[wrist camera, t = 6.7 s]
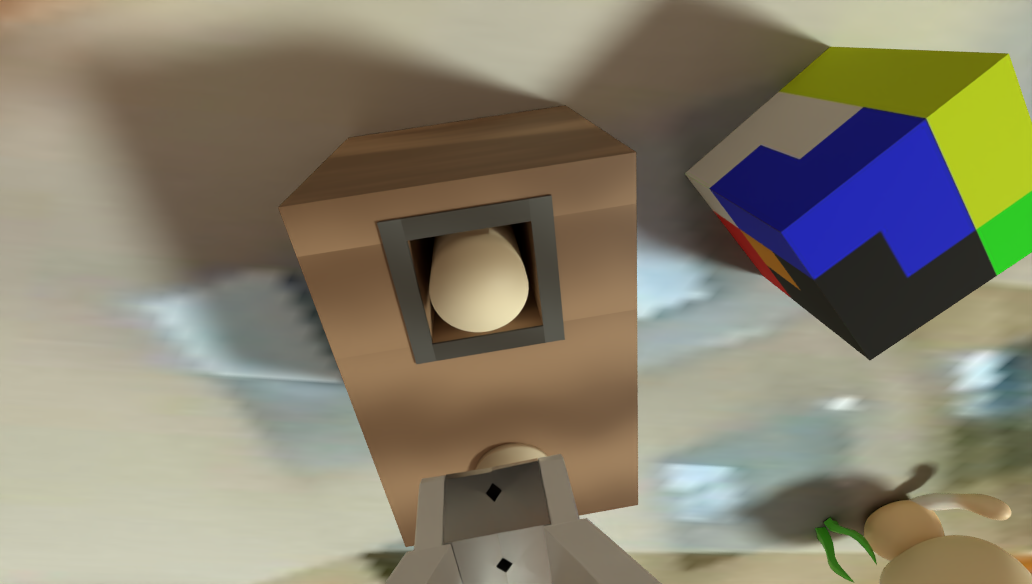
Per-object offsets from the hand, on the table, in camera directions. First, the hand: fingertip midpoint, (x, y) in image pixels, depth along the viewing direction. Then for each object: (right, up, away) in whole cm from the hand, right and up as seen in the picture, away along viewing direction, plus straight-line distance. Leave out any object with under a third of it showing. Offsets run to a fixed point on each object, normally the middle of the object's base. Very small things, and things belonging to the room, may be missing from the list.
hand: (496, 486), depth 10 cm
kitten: (+37, -18, +39) cm, 56 cm away
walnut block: (-2, +6, +21) cm, 21 cm away
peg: (-2, +10, +17) cm, 20 cm away
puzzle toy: (+18, +12, +20) cm, 29 cm away
